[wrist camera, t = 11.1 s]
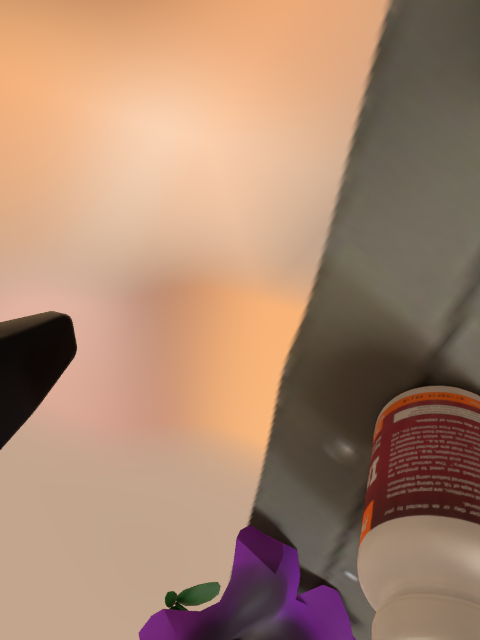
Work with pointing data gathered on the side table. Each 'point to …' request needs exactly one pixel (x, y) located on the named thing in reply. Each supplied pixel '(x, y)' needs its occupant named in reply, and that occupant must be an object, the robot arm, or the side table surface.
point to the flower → (254, 601)
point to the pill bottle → (424, 517)
